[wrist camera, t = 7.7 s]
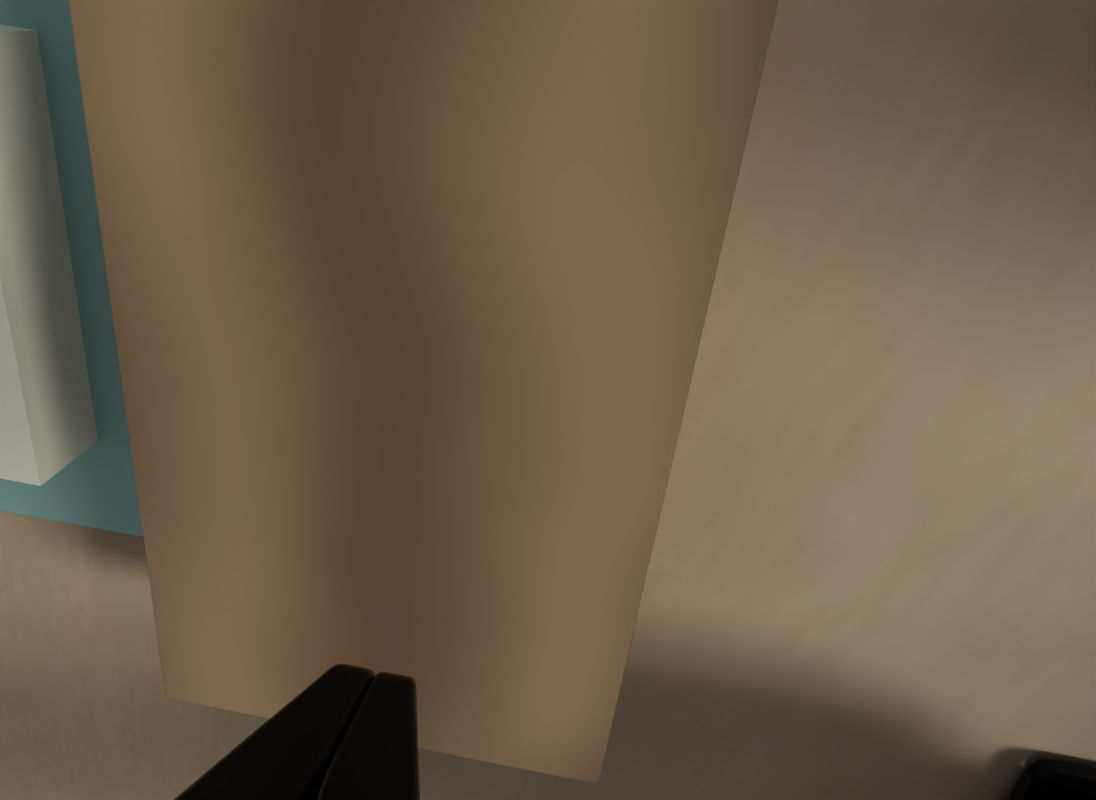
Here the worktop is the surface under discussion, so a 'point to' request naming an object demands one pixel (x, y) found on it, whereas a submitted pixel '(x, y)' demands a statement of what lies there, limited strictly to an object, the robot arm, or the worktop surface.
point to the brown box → (412, 334)
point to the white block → (36, 284)
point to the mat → (80, 302)
